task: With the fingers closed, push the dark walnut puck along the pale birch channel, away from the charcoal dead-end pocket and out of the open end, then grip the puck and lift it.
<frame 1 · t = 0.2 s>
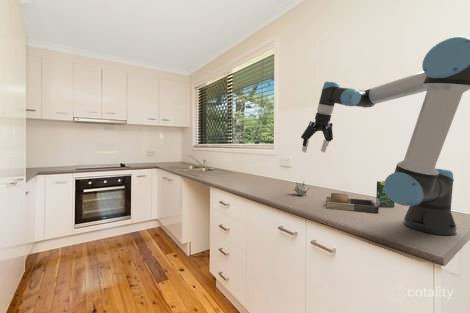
hand: (313, 151, 122), 27 cm above the worktop, tool tilted 20°, fingers open, 13 cm apart
channel: (339, 205, 114), on the worktop
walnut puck: (339, 206, 114), on the worktop
grey succulent plant: (301, 195, 136), on the worktop
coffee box: (384, 206, 114), on the worktop
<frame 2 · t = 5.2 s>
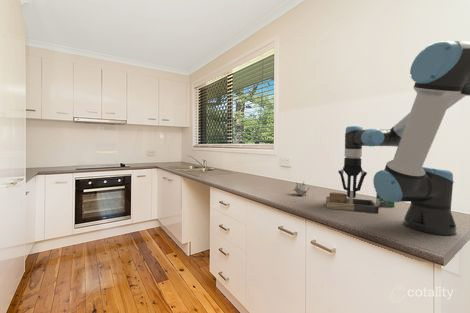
hand: (350, 203, 112), 2 cm above the worktop, tool pointing down, fingers closed
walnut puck: (337, 205, 115), on the worktop, touching gripper
everything else where it was.
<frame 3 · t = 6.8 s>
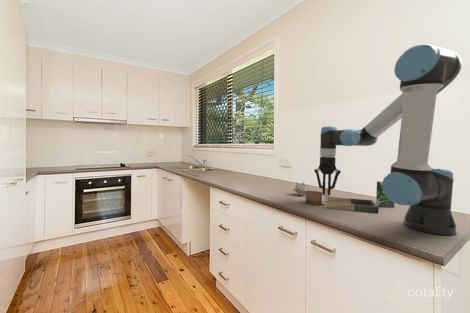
hand: (326, 201, 117), 2 cm above the worktop, tool pointing down, fingers closed
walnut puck: (313, 203, 119), on the worktop, touching gripper
everything else where it was.
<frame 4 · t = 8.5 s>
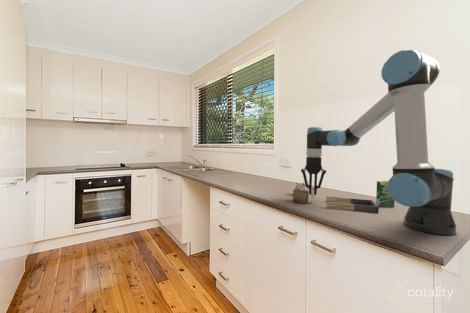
hand: (312, 200, 119), 1 cm above the worktop, tool pointing down, fingers closed
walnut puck: (300, 201, 121), on the worktop, touching gripper
everything else where it was.
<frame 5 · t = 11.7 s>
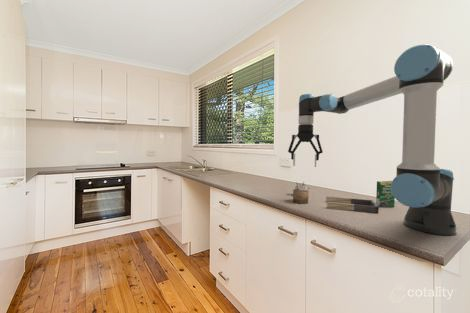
hand: (304, 166, 119), 20 cm above the worktop, tool pointing down, fingers open, 10 cm apart
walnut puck: (300, 202, 121), on the worktop
everything else where it was.
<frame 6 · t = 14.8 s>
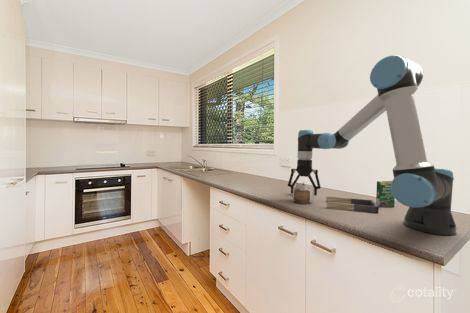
hand: (303, 200, 120), 1 cm above the worktop, tool pointing down, fingers open, 9 cm apart
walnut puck: (301, 202, 121), on the worktop, touching gripper
everything else where it was.
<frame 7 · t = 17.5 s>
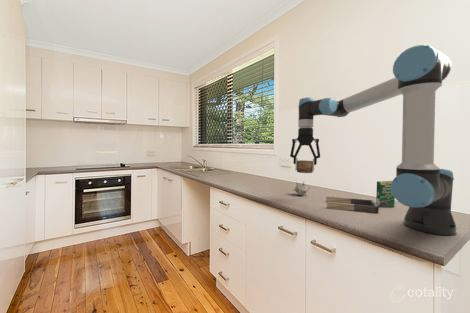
hand: (304, 170, 119), 17 cm above the worktop, tool pointing down, fingers closed on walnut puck, 8 cm apart
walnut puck: (304, 172, 120), point 17 cm above the worktop, touching gripper
everything else where it was.
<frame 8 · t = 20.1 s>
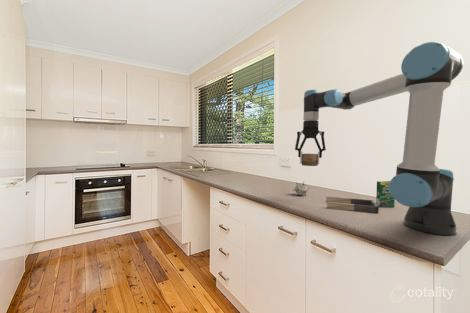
hand: (309, 163, 118), 21 cm above the worktop, tool pointing down, fingers closed on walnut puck, 8 cm apart
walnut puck: (309, 165, 119), point 20 cm above the worktop, touching gripper
everything else where it was.
at the end: the gripper is holding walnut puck; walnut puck inside the target area (2.1 cm from its centre), point 20.3 cm above the worktop; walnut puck touching gripper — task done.
